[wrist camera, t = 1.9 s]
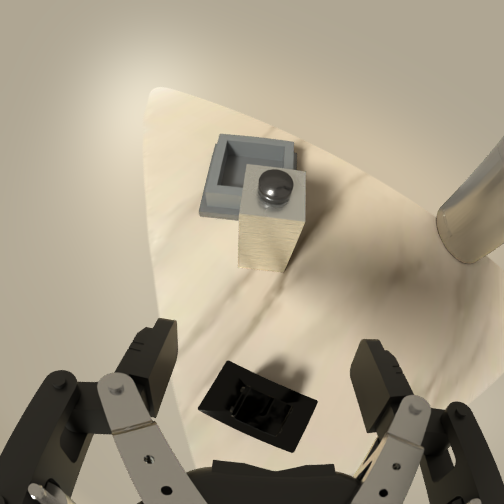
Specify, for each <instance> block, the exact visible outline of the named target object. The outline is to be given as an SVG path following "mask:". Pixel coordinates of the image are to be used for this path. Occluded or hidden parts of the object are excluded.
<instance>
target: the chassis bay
mask: <svg viewBox="0 0 504 504" xmlns="http://www.w3.org/2000/svg"><path fill="white" fill-rule="evenodd" d="M247 164H251V165H260V166H269V167H277V168H284V169H291V170H296V168H297V153H294V142H291V141H283V140H276V139H268V138H259V137H250V136H240V135H229V134H220V135H219V139H218V143H217V144H215V148H214V152H213V155H212V159H211V163H210V167H209V171H208V175H207V179H206V183H205V187H204V192H203V196H202V200H201V204H200V209H199V215H200V216H201V217H211V218H220V219H230V220H239V211H240V204H241V198H242V191H243V185H244V178H245V172H246V165H247Z"/></svg>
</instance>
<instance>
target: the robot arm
mask: <svg viewBox="0 0 504 504" xmlns="http://www.w3.org/2000/svg"><path fill="white" fill-rule="evenodd" d="M436 221H437V228H438V232H439V235H440V237H441V239H442V241H443V243H444V245H445V247H446V248H447V249H448V251H449V252H450V253H451V254H452V255H453V256H454V257H455V258H457V259H458V260H459V261H461V262H464V263H468V264H471V263H474V262H476V261H478V260H479V259H481V258H482V257H485V256H486V255H488V254H489V253H491V252H492V251H494V250H495V249H496V248H498V247H499V246H501V245H502V244H504V136H503V137H502V139H501V140H500V141H499V143H498V144H497V145H496V147H495V148H494V149H493V150H492V151H491V152H490V154H489V155H488V156H487V157H486V158H485V159H484V161H483V162H482V163H481V164H480V165H479V167H478V168H477V169H476V170H475V171H474V172H473V173H472V174H471V175H470V177H469V178H468V179H467V180H466V181H465V182H464V183H463V184H462V185H461V186H460V187H459V189H458V190H457V191H456V192H455V193H454V194H453V195H452V196H451V197H450V198H449V199H448V200H447V201H446V202H445V203H444V204H443V205H442V206H441V207H440V209H439V211H438V213H437V220H436ZM177 354H178V339H177V322H176V321H175V320H169V319H163V318H158V320H157V322H156V323H155V326H154V327H153V328H148V327H145V328H144V329H143V330H141V331H140V332H139V333H137V335H136V337H135V338H134V340H133V342H132V343H131V345H130V346H129V349H128V350H127V352H126V353H125V355H124V357H123V359H122V360H121V362H120V364H119V366H118V367H117V369H116V371H115V372H114V373H110V374H107V375H105V376H103V377H102V378H101V379H100V380H99V382H77V379H76V377H75V376H74V375H73V374H72V373H71V372H68V371H65V370H59V371H54V372H52V373H50V374H49V375H48V376H47V377H46V378H45V380H44V381H43V383H42V384H41V386H40V387H39V389H38V391H37V392H36V394H35V395H34V397H33V399H32V400H31V402H30V403H29V405H28V407H27V408H26V410H25V412H24V414H23V415H22V417H21V419H20V421H19V422H18V424H17V426H16V427H15V429H14V431H13V433H12V435H11V436H10V438H9V440H8V442H7V444H6V446H5V448H4V450H3V452H2V454H1V455H0V504H76V503H75V502H74V501H73V500H72V499H71V495H72V492H73V489H74V486H75V483H76V480H77V478H78V475H79V472H80V469H81V466H82V463H83V461H84V458H85V455H86V453H87V450H88V447H89V445H90V442H91V440H92V437H93V435H94V434H112V435H113V438H114V441H115V443H116V446H117V448H118V451H119V453H120V455H121V458H122V460H123V462H124V465H125V467H126V469H127V471H128V473H129V475H130V478H131V480H132V482H133V484H134V486H135V487H136V489H137V491H138V494H139V496H140V497H141V499H142V501H141V502H139V503H137V504H403V501H404V499H405V497H406V495H407V493H408V490H409V488H410V486H411V483H412V481H413V478H414V476H415V474H416V471H417V469H418V466H419V463H420V467H421V470H422V474H423V478H424V482H425V485H426V489H427V494H428V498H429V502H430V504H504V484H503V481H502V479H501V476H500V473H499V471H498V468H497V465H496V463H495V461H494V458H493V456H492V454H491V451H490V449H489V447H488V444H487V442H486V440H485V438H484V436H483V433H482V431H481V429H480V427H479V425H478V423H477V421H476V419H475V417H474V415H473V413H472V411H471V409H470V408H469V407H468V406H467V405H466V404H464V403H462V402H452V403H450V404H449V406H448V407H447V408H446V410H442V409H434V408H431V407H430V405H429V403H428V402H427V401H426V400H425V399H424V398H422V397H420V396H416V395H414V394H413V392H412V390H411V388H410V386H409V384H408V382H407V379H406V377H405V375H404V374H403V372H402V370H401V368H400V367H399V364H398V362H397V360H396V358H395V357H394V356H393V355H392V354H391V353H390V352H389V351H388V350H384V348H383V346H382V344H381V342H380V341H379V340H378V339H362V340H361V342H360V344H359V347H358V349H357V352H356V354H355V357H354V359H353V362H352V364H351V368H350V378H351V381H352V384H353V387H354V391H355V394H356V397H357V400H358V404H359V407H360V411H361V414H362V417H363V421H364V424H365V428H366V431H367V433H373V432H377V435H378V436H377V438H376V439H375V441H374V443H373V444H372V446H371V448H370V450H369V452H368V453H367V455H366V457H365V459H364V460H363V462H362V464H361V465H360V467H359V469H358V470H357V471H356V473H355V474H354V476H353V477H352V476H350V475H347V474H344V473H340V472H336V471H335V467H334V464H325V465H305V466H300V467H296V468H291V469H287V470H282V471H271V470H267V469H263V468H259V467H255V466H252V465H248V464H245V463H236V462H227V461H219V460H213V464H212V467H205V468H199V469H195V470H192V471H189V472H185V470H184V469H183V467H182V466H181V464H180V463H179V461H178V459H177V458H176V456H175V454H174V453H173V451H172V449H171V448H170V446H169V444H168V443H167V441H166V439H165V437H164V435H163V434H162V432H161V430H160V428H159V426H158V425H157V423H156V422H155V421H153V420H152V419H151V417H154V418H156V417H157V414H158V411H159V408H160V405H161V402H162V399H163V396H164V394H165V391H166V388H167V385H168V382H169V380H170V377H171V374H172V371H173V369H174V366H175V363H176V360H177ZM450 446H451V447H452V450H453V452H454V455H455V458H456V464H455V466H453V463H452V460H451V457H450V454H449V452H448V448H449V447H450Z"/></svg>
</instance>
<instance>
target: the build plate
mask: <svg viewBox="0 0 504 504" xmlns="http://www.w3.org/2000/svg"><path fill="white" fill-rule="evenodd" d="M317 403H318V401H317V400H315V399H312V398H310V397H307V396H305V395H302V394H300V393H298V392H295V391H293V390H291V389H288V388H286V387H284V386H281V385H279V384H277V383H275V382H272V381H270V380H268V379H266V378H264V377H262V376H259V375H257V374H255V373H253V372H251V371H249V370H247V369H245V368H243V367H241V366H239V365H237V364H235V363H233V362H231V361H226V363H225V365H224V366H223V368H222V370H221V371H220V373H219V375H218V376H217V378H216V379H215V381H214V383H213V384H212V386H211V388H210V389H209V391H208V393H207V394H206V396H205V397H204V399H203V401H202V402H201V404H200V405H199V407H198V410H199V411H201V412H203V413H205V414H207V415H208V416H210V417H212V418H214V419H216V420H218V421H220V422H222V423H224V424H226V425H228V426H230V427H232V428H234V429H236V430H239V431H241V432H243V433H245V434H247V435H250V436H252V437H254V438H256V439H259V440H261V441H263V442H266V443H268V444H271V445H273V446H276V447H278V448H281V449H283V450H286V451H288V452H291V453H293V452H294V451H295V449H296V447H297V445H298V443H299V441H300V439H301V437H302V435H303V433H304V431H305V429H306V427H307V425H308V423H309V420H310V418H311V416H312V414H313V412H314V410H315V407H316V405H317Z"/></svg>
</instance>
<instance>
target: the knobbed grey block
mask: <svg viewBox="0 0 504 504" xmlns="http://www.w3.org/2000/svg"><path fill="white" fill-rule="evenodd" d="M305 206H306V172H305V171H298V170H291V169H284V168H277V167H269V166H260V165H251V164H247V165H246V172H245V178H244V185H243V191H242V198H241V204H240V211H239V237H238V268H246V269H254V270H263V271H272V272H281V273H284V270H285V268H286V266H287V263H288V261H289V259H290V257H291V254H292V252H293V250H294V247H295V245H296V243H297V240H298V238H299V236H300V233H301V231H302V229H303V226H304V224H305Z"/></svg>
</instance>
